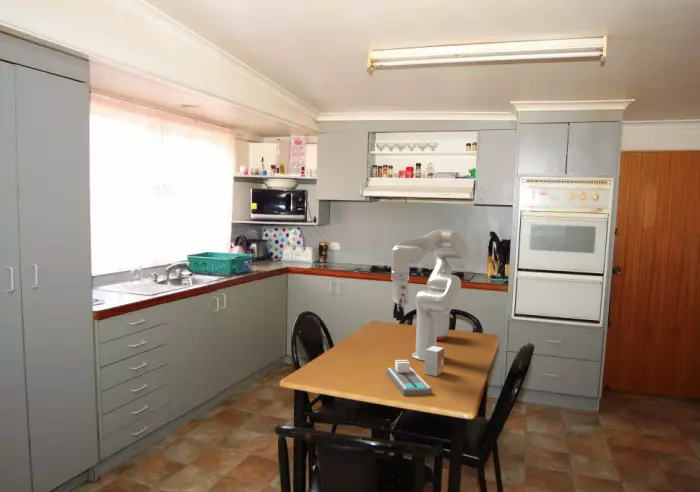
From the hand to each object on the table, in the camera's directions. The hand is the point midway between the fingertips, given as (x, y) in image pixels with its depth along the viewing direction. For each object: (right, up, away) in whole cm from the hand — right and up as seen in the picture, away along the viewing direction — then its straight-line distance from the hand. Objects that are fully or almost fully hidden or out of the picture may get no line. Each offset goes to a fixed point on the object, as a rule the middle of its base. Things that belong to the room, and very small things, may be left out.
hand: (398, 318), depth 207 cm
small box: (+15, -23, -1) cm, 28 cm away
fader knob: (+1, -21, -6) cm, 22 cm away
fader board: (+2, -23, -14) cm, 27 cm away
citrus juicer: (+26, -19, +58) cm, 67 cm away
